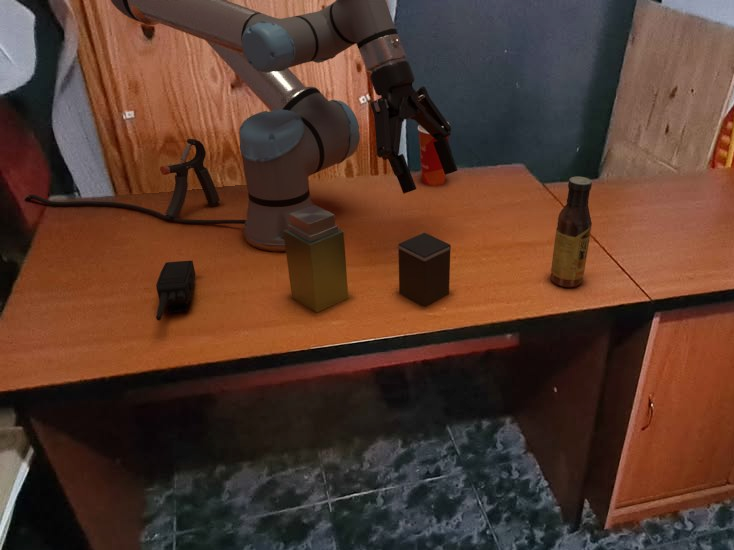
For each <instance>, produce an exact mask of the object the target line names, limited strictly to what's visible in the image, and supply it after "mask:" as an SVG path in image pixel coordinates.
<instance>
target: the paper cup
mask: <svg viewBox="0 0 734 550" xmlns="http://www.w3.org/2000/svg"><path fill="white" fill-rule="evenodd" d="M448 124H449V125H450V123H449V122H448ZM442 128H443V126H442ZM417 131H418V135H419V136H418V137H419V153H420V170H421V182H422V183H423V184H424V185H427V186H432V187H433V186H434V187H437V186H441V185H444V184H445V182H446V176H447V175H445V173H444V170H443V168H442V165H441V162H440V160H439V157H438V154H437V152H436V149H435V146H434V144H433V142H435V141H438V140H435V139H434V138H433V137H432V136H431V135H430V134H429V133H428V132H427V131H426V130H425V129H424V128H423V127H422V126H421V125H420V124H418V125H417ZM447 140H448V143H449V144H450V142H449V141H450V135H449V136H447Z"/></svg>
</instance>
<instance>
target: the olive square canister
mask: <svg viewBox="0 0 734 550" xmlns="http://www.w3.org/2000/svg"><path fill="white" fill-rule="evenodd" d="M289 217H290V224H289V225H288V229H286V230H283V232H284V240H285V248H286V251H285V255H286V263H287V270H288V271H287V272H288V278H289V288H290V293H291V298H292V299H293V300H295V301H297V302H298V303H300V304H302V305H303V306H305V307H306V308H308V309H309V310H311V311H313V312H314V313H317V314H318V313H319V312H322V311H324V310H327V309H328V308H330V307H333V306H334V305H337V304H339V303H341V302H343V301H345V300H347V299H349V288H348V287H349V285H348V273H347V258H346V245H345V231H344V230H341V229H340V228H339V226H338V225H337V224H336V215H335V214H334V213H333V212H330V211H328V210H327V209H324V208H323V207H320V206H318V205H316V204H313V206H310V207H307V208H304V209H301V210H298V211H295V212H293V213H290V214H289Z"/></svg>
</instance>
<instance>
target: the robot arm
mask: <svg viewBox="0 0 734 550" xmlns="http://www.w3.org/2000/svg"><path fill="white" fill-rule="evenodd" d="M110 2H111V4H112V5H113V6H114V7H115V8H116V9H117V10H118V11H119V12H120V13H122V14H123V15H124V16H126V17H128V18H130V19H131V20H134V21H136V22H139V23H142V24H144V25H148V26H156V25H159V24H161V25H164V26H166V27H169V28H172V29H174V30H177V31H180V32H182V33H184V34H188V35H191V36H193V37H196V38H199V39H201V40H203V41H205V42H206V43H207V44H208V45H209V46H210V47H211V48H212V50H214V52H215V53H216V54H217V55H218V56H219V57H220V59H222V60H223V62H224V63H225V64H226V65H227V66H228V67H229V68H230V69H231V70H232V71H233V72H234V73H235V74H236V76H237V77H238V78H239V79H240V80H241V81H242V82H243V83H244V84H245V86H247V88H249V90H250V91H251V92H252V93H253V94H254V95H255V97H257V98H258V99H259V101H260V102H261V103H263V105H264V106H265V107H266V108H267V109H268V110H269V111H267V110H264V111H260V112H257V113H255V114H253V115H250V116H249V117H247V118H246V119H245V120H244V121H243V122H242V123H241V125H240V127H239V134H238V135H239V150H240V151H239V152H240V155H241V159H242V166H243V171H244V176H245V183H246V190H247V194H248V206H247V212H246V219H186V218H178V217H177V218H173V219H172V220H170V219H168V218H166V217H165V216H166V214H163V213H161V212H159V211H156V210H153V209H151V208H146V207H143V206H139V205H134V204H130V203H124V202H123V203H122V202H116V201H115V202H113V201H96V200H95V201H93V200H87V201H86V200H83V201H82V200H79V201H76V200H75V201H53V200H49V199H45V198H44V197H41V196H39V195H36V194H28V196H29V197H30V198H29V197H27V196H26V197H25V198H24V202H30V201H31V200H33V199H34V200H36V201H38V202H41V203H43V204H46V205H48V206H56V207H58V206H59V207H61V206H62V207H63V206H65V207H69V206H106V207H107V206H108V207H117V208H118V207H119V208H126V209H130V210H131V209H132V210H136V211H139V212H143V213H146V214H147V213H148V214H150V215H153V216H156V217H158V218H161V219H162V220H166V221H168V222H173V223H178V224H190V225H191V224H193V225H232V224H233V225H236V224H238V225H244V226H243V233H244V238H245V241H246V242H247V244H249V246H252V247H253V248H256V249H258V250H262V251H266V252H276V253H278V252H280V253H281V252H283V253H284V252H286V248H285V240H284V232H283V230H286V229H288V225H289V224H290V217H289V214H290V213H293V212H295V211H298V210H301V209H304V208H307V207H310V206H313V205H314V202H313V200H312V199H311V192H310V183H309V182H310V181H309V177H311V176H312V175H315V174H317V173H318V172H321V171H324V170H326V169H328V168H331V167H332V166H333V167H334V166H335V165H340V164H342V163H343V162H344V161H345V160H347V159H348V158H350V157H352V156H353V155H354V154H355V153H356V152H357V150H358V147H359V145H360V141H361V133H360V124H359V120H358V118H357V116H356V114H355V112H354V111H353V109H352V108H351V106H349V105H348V104H347V103H346V102H344V101H342V100H336V99H330V100H328V99H327V97H326V96H325V95H324V94H323V93H322V92H321V91H320V90H319V89H318V88H317V87H316V86H306V85H304V84H303V83H302V81H301V80H300V79H299V78H298V76H296V74H294V72H292V71H291V69H290V68H293V67H296V66H299V65H304V64H306V63H311V62H313V63H316V64H320V63H324V62H326V61H328V60H332V59H334V58H335V57H337V56H338V55H339V54H341V53H343V52H344V51H346V50H348V49H349V48H351V47H352V46H355V45H356V47H357V49H358V51H359V55H360V57H361V60H362V62H363V65H364V68H365V70H366V72H367V73H370V75H369V76H370V77H369V80H370V82H371V85H372V87H373V91H374V93H375V94H376V95H377V96H379V98H377V99H375V100H373V101H371V102H370V107H371V110H372V114H373V119H374V121H373V123H374V133H375V134H374V135H375V147H376V156H377V157H378V158H379V159H382V160H384V161H386V160H388V162H389V165H390V167H391V170H392V172H393V174H394V176H395V177H396V178H397V181H398V184H399V186H400V188H401V191H402V194H404V195H405V194H407V193H410V192H412V191H413V192H414V191H415V190H417V186H416V183H415V181H414V178H413V175H412V173H411V171H410V168H409V166H408V162H407V161H406V160H407V159H406V157H405V155H404V153H401V154H400V148H401V147H400V146H401V138H402V129H403V122H405V120H409V119H410V120H413V121H415V122H416V123H417V124H418V125H419V124H420V125H421V126H422V127H423V128H424V129H425V130H426V131H427V132H428V133H429V134H430V135H431V136H432V137H433V138H434V139H435V140H438V141H435V142H433V144H434V146H435V149H436V152H437V154H438V157H439V160H440V162H441V165H442V168H443V170H444V173H445V175H446V176H447V175H449V174H453V173H456V172H458V167H457V164H456V162H455V159H454V156H453V152H452V148H451V146H450V142H449V143H448V140H447V136H449V137H450V136H451V132H452V127H451V125H450V123H449V122H448V121H447V120H446V118H445V117H444V115H443V114H442V113H441V111H440V110H439V108H438V107H437V105H436V104H435V103H434V101H433V100H432V98H431V97H430V94H429V93H428V91H427V88H426V87H425V86H424V85H422V86H420V87H418V88H416V89H414V87H413V83H414V82H415V80H416V79H415V76H414V73H413V70H412V67H411V65H410V62H409V61H407V60H405V59H406V57H407V55H406V52H405V50H404V47H403V44H402V41H401V39H400V37H399V33H398V31H397V28H396V27H395V24H394V21H393V18H392V17H393V16H392V15H391V12H390V8H389V5H388V3H387V0H335V1H334V2H332V3H331V4H329V5H327V6H326V7H324V8H322V9H320V10H318V11H317V10H316V11H313V12H307V13H304V14H299V15H293V16H288V17H283V18H279V17H275V16H272V15H268V14H266V13H262V12H261V11H257V10H255V9H252V8H249V7H245V6H243V5H240V4H237V3H234V2H231V1H229V0H110ZM380 96H381V97H380ZM448 123H449V124H448ZM442 126H443V128H442Z"/></svg>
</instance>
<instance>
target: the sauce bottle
mask: <svg viewBox="0 0 734 550" xmlns="http://www.w3.org/2000/svg"><path fill="white" fill-rule="evenodd" d="M592 185H593V181H592V180H591V178H588V177H586V176H578V175H577V176H572V177H570V178H569V179H568V183H567V188H568V192H567V198H566V204H565V205H564V207H563V208H562V209H561V211H560V212H559V214H558V218H557V227H556V229H555V236H554V245H553V253H552V261H551V267H550V280H551V282H553V284H555V285H557V286H559V287H563V288H564V287H565V288H573V287H577V286H579V285H580V284H581V283H582V281H583V278H584V276H585V269H586V263H587V256H588V251H589V246H590V245H589V244H590V238H591V232H592V226H593V223H592V218H591V213H590V208H589V199H590V192H591V190H592Z"/></svg>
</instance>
